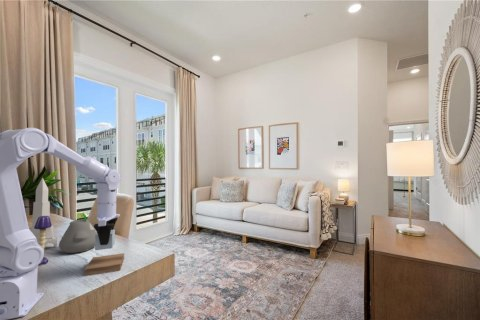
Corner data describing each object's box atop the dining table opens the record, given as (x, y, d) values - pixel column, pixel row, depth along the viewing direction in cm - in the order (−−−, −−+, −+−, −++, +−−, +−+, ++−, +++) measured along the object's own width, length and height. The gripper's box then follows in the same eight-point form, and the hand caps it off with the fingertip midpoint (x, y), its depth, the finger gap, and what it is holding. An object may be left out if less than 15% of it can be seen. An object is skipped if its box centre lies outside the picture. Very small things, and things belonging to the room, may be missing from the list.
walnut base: (120, 271, 72) (120, 264, 72) (84, 277, 69) (84, 269, 69) (124, 260, 82) (124, 253, 82) (92, 264, 78) (93, 257, 78)
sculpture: (39, 253, 86) (41, 177, 87) (23, 251, 88) (25, 177, 89) (56, 246, 93) (58, 177, 94) (41, 245, 95) (43, 176, 96)
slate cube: (112, 248, 74) (112, 233, 74) (94, 250, 72) (95, 235, 72) (114, 243, 78) (114, 229, 79) (98, 245, 77) (98, 231, 77)
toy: (101, 249, 91) (102, 213, 91) (60, 258, 81) (61, 218, 82) (94, 240, 101) (95, 208, 102) (57, 248, 92) (58, 212, 93)
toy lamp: (49, 259, 81) (50, 214, 81) (51, 262, 78) (53, 216, 78) (31, 263, 77) (32, 216, 77) (33, 267, 74) (35, 218, 74)
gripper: (116, 205, 70) (115, 247, 70) (122, 199, 84) (121, 234, 84) (90, 206, 68) (89, 250, 67) (101, 200, 81) (100, 236, 81)
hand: (106, 241), depth 75 cm, fingers closed on slate cube, 5 cm apart
